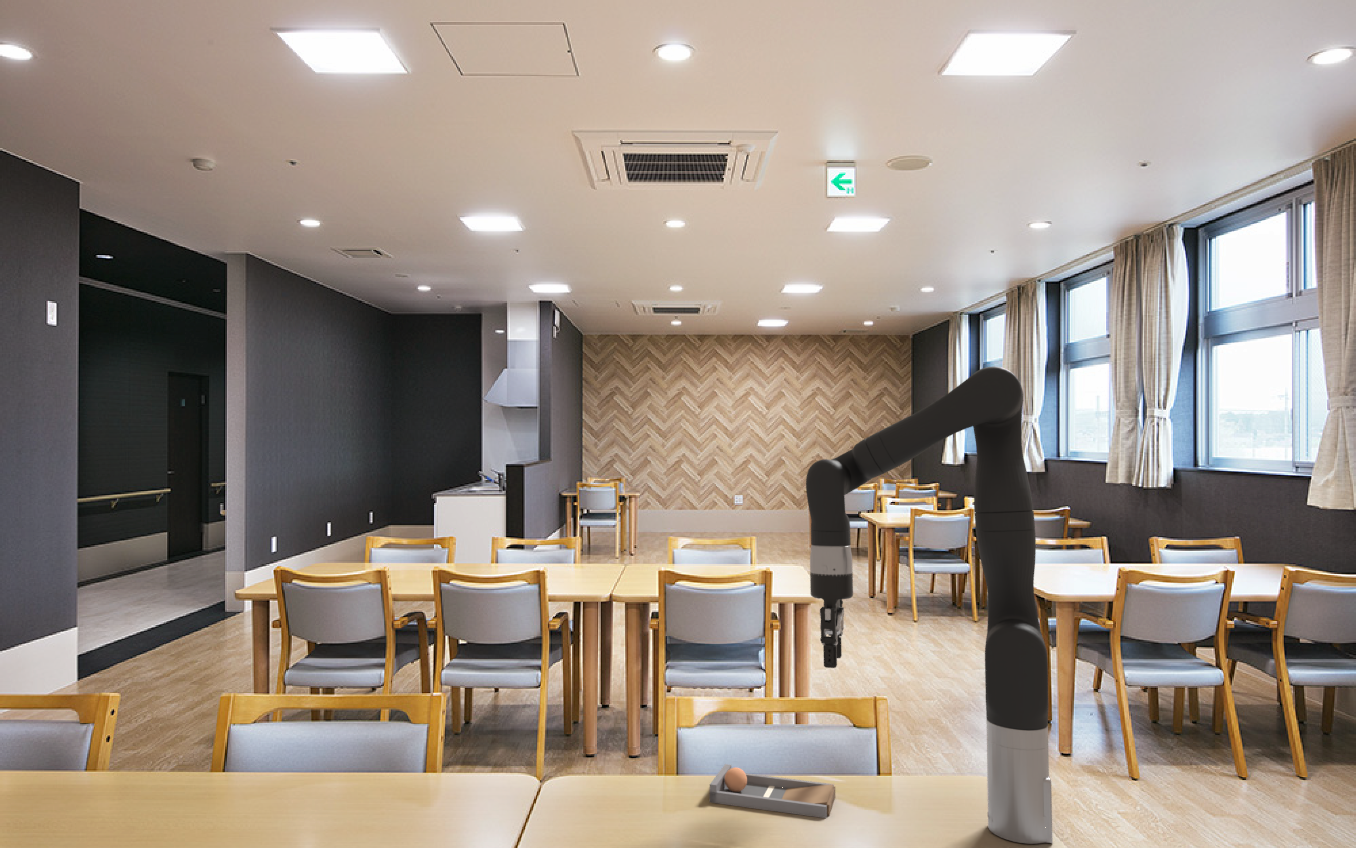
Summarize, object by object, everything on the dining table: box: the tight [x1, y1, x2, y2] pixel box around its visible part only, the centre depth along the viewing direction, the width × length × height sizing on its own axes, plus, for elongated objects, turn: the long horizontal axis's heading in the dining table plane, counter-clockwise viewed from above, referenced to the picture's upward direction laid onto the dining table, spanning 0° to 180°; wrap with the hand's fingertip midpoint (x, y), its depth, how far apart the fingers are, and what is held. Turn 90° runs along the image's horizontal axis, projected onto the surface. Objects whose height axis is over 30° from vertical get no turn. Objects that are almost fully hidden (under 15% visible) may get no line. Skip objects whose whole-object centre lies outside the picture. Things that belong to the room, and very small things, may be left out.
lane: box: [709, 763, 835, 819], centre depth 141 cm, size 20×11×3 cm, turn 72°
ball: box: [725, 767, 747, 792], centre depth 143 cm, size 4×4×4 cm
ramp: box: [782, 783, 836, 817], centre depth 139 cm, size 9×9×3 cm
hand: (832, 662), depth 143 cm, fingers open, 8 cm apart
